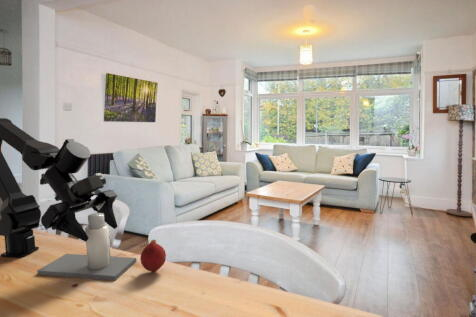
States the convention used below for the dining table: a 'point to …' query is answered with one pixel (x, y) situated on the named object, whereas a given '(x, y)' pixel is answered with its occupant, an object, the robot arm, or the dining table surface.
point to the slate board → (86, 267)
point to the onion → (153, 256)
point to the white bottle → (97, 242)
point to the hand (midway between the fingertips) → (102, 233)
